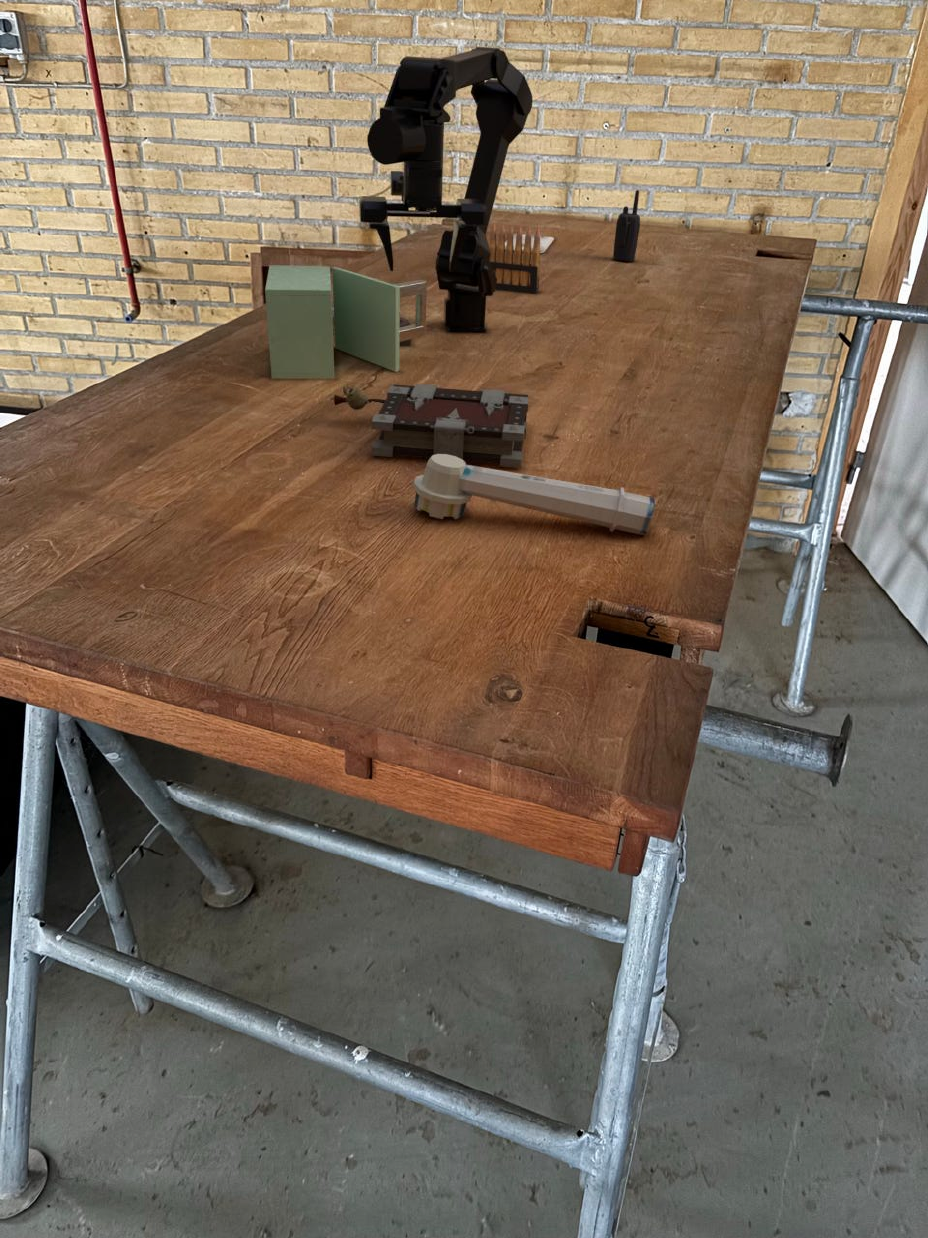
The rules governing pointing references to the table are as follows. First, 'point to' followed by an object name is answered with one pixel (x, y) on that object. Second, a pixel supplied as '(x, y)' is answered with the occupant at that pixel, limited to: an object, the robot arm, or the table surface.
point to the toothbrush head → (527, 495)
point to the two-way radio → (627, 233)
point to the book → (447, 423)
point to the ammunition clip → (515, 261)
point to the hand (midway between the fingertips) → (421, 270)
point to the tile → (544, 242)
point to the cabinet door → (374, 316)
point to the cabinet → (300, 322)
